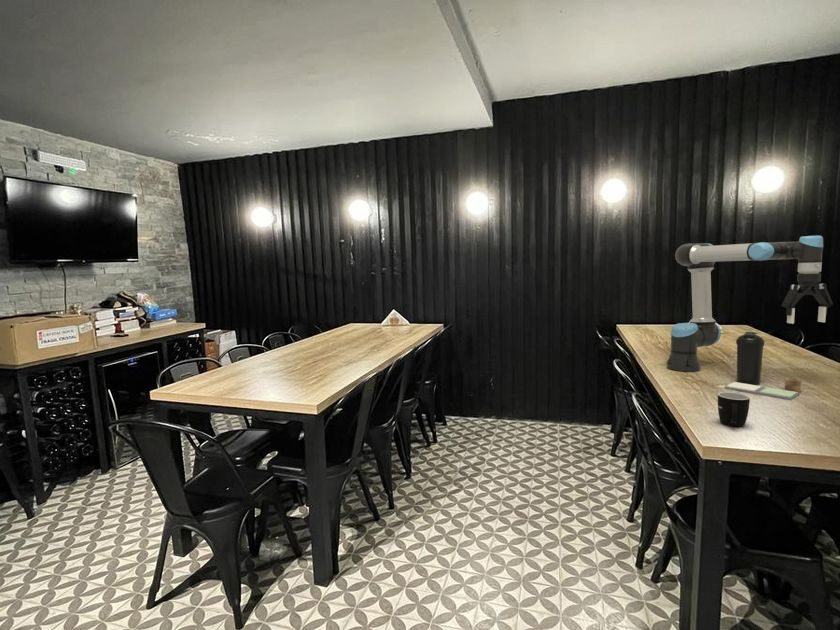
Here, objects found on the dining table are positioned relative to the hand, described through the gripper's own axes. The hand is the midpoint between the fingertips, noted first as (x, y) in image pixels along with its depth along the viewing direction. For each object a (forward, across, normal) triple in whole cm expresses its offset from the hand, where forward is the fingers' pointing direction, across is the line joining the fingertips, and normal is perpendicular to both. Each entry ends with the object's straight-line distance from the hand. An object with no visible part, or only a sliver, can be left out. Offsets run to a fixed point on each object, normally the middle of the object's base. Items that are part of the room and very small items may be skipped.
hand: (805, 322), depth 189 cm
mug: (+28, -60, -40) cm, 77 cm away
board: (+28, -22, -4) cm, 36 cm away
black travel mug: (+28, -17, +9) cm, 34 cm away
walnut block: (+28, -9, -5) cm, 30 cm away
